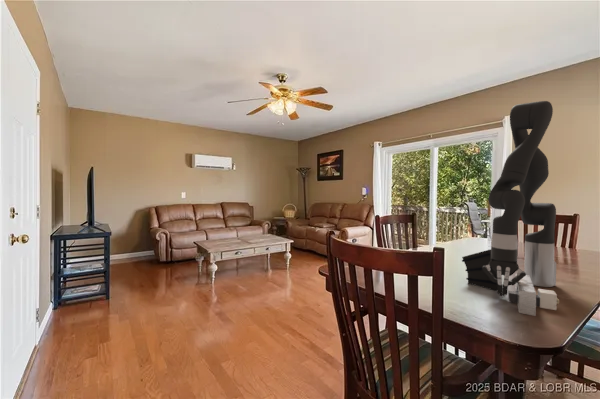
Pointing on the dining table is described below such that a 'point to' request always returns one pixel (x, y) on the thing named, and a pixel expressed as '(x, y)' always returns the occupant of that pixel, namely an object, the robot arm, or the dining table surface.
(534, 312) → the housing
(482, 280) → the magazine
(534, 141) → the robot arm
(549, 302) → the plug
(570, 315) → the dining table surface
